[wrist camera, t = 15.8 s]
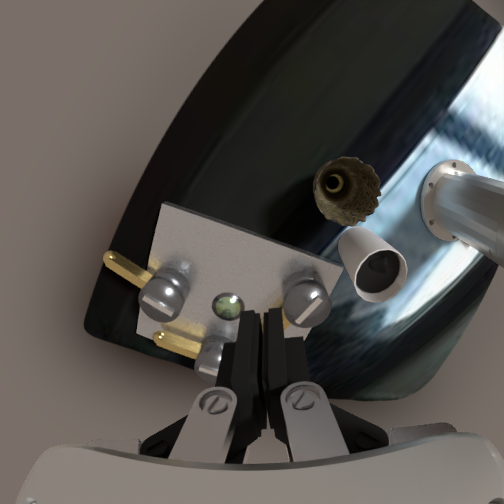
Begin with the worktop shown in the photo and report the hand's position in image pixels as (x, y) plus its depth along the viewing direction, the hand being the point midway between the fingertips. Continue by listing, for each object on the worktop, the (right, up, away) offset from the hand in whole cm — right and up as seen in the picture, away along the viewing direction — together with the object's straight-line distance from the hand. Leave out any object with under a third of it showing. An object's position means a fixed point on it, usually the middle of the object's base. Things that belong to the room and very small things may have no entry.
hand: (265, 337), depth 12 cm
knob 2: (+4, -5, +29) cm, 30 cm away
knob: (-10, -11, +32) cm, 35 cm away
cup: (+10, +13, +24) cm, 29 cm away
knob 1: (-16, 0, +28) cm, 32 cm away
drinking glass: (+14, +5, +27) cm, 31 cm away
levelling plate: (-4, -4, +31) cm, 31 cm away
